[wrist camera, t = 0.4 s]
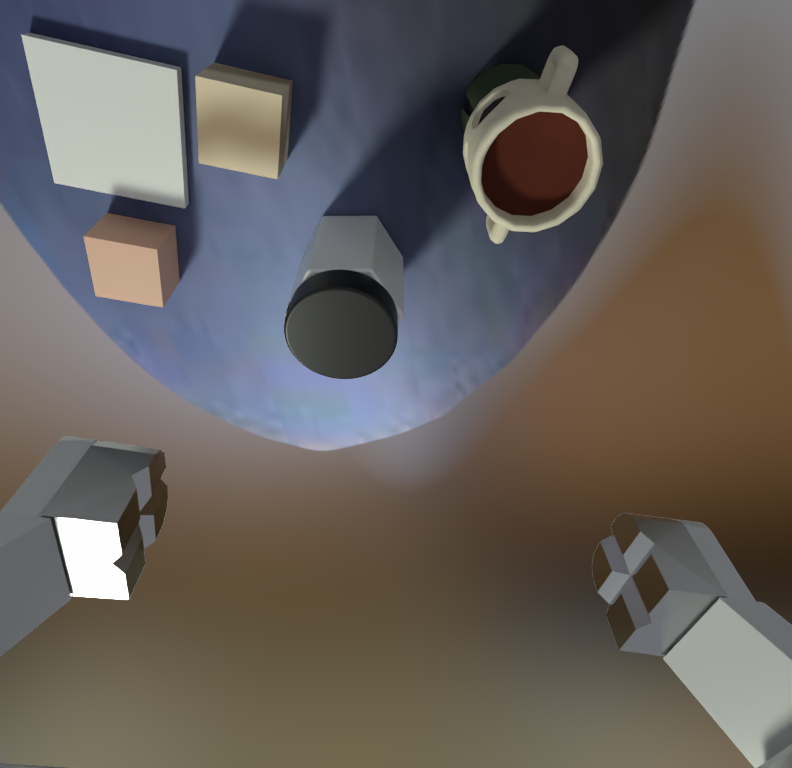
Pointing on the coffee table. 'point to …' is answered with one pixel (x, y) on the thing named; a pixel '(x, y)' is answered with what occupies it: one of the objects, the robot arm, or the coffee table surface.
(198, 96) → the maple block
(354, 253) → the jar
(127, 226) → the terracotta block
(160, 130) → the base plate
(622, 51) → the coffee table surface
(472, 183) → the character mug
